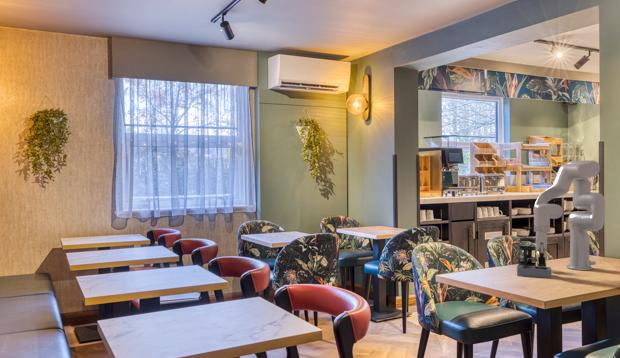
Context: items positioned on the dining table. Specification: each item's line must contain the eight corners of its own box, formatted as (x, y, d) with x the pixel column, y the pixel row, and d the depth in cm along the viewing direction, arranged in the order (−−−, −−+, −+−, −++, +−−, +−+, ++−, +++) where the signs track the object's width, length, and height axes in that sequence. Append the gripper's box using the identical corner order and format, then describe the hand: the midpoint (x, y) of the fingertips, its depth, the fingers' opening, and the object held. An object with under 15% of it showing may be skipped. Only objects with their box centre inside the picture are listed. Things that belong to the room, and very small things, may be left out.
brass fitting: (542, 265, 270) (542, 249, 270) (548, 266, 266) (548, 250, 265) (535, 265, 268) (535, 249, 268) (541, 266, 264) (541, 251, 264)
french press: (533, 271, 280) (534, 228, 280) (515, 269, 286) (516, 227, 285) (539, 267, 289) (539, 226, 289) (521, 266, 295) (521, 225, 295)
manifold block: (550, 274, 270) (550, 267, 270) (551, 278, 261) (551, 270, 261) (517, 272, 276) (517, 264, 276) (517, 275, 267) (517, 267, 267)
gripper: (533, 226, 276) (533, 261, 276) (534, 230, 260) (533, 266, 261) (549, 227, 273) (549, 262, 273) (550, 230, 257) (550, 267, 258)
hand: (541, 263), depth 267 cm, fingers closed on brass fitting, 4 cm apart
